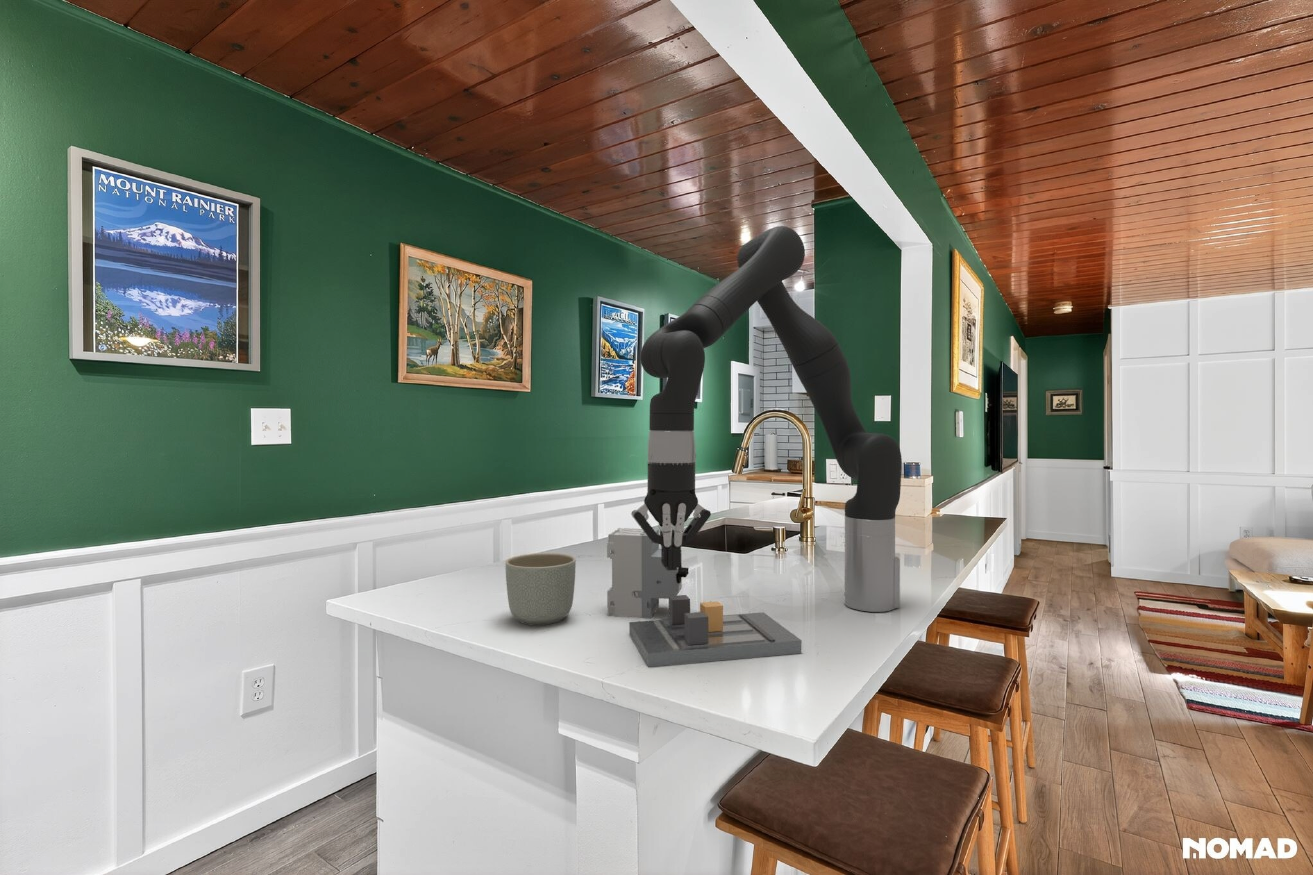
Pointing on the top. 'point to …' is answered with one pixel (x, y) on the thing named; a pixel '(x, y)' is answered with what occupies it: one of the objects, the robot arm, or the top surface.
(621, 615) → the circuit breaker
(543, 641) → the top surface
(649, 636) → the grey base plate
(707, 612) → the toggle
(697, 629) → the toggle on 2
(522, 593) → the planter
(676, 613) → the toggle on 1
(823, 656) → the top surface
